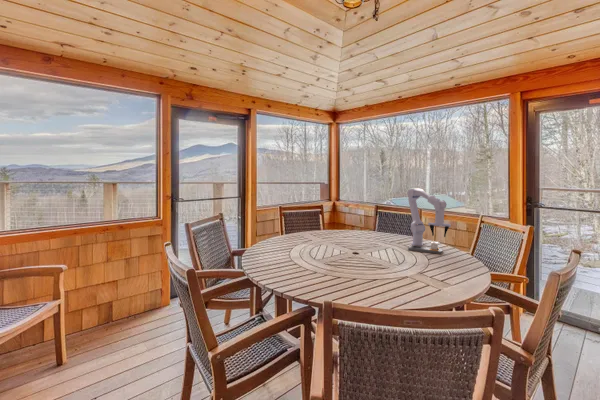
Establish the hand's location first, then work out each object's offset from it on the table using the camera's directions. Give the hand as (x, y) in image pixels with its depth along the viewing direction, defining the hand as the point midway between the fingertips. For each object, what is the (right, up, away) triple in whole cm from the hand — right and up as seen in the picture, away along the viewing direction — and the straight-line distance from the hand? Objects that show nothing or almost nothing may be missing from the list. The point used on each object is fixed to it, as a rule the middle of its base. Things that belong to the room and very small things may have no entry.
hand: (438, 236), depth 217 cm
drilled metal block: (-5, -11, -3) cm, 12 cm away
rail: (-10, -11, 0) cm, 14 cm away
